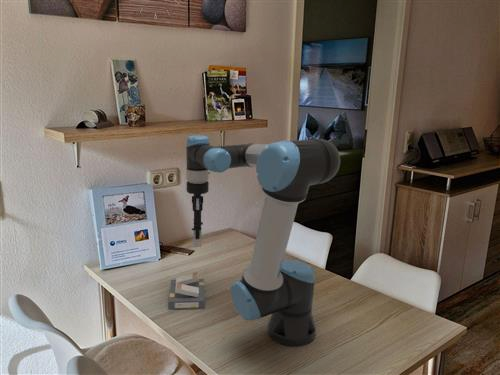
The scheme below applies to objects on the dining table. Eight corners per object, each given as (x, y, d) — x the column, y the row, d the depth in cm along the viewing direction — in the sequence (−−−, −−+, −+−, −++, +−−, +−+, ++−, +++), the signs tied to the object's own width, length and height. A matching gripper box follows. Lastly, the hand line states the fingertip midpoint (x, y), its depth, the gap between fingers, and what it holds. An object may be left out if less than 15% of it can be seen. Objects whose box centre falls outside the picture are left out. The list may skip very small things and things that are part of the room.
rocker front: (197, 297, 152) (199, 292, 152) (174, 292, 150) (176, 288, 150) (197, 291, 156) (198, 287, 155) (175, 286, 154) (176, 282, 154)
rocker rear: (198, 281, 159) (197, 276, 159) (177, 286, 159) (175, 282, 158) (198, 276, 163) (197, 271, 162) (177, 281, 162) (176, 277, 162)
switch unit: (204, 308, 151) (204, 298, 150) (168, 310, 149) (168, 299, 148) (203, 286, 166) (203, 276, 165) (171, 287, 165) (171, 277, 164)
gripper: (209, 187, 144) (208, 253, 150) (207, 175, 160) (207, 236, 166) (186, 187, 143) (186, 254, 149) (186, 175, 159) (186, 236, 165)
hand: (197, 244), depth 158 cm, fingers open, 3 cm apart
